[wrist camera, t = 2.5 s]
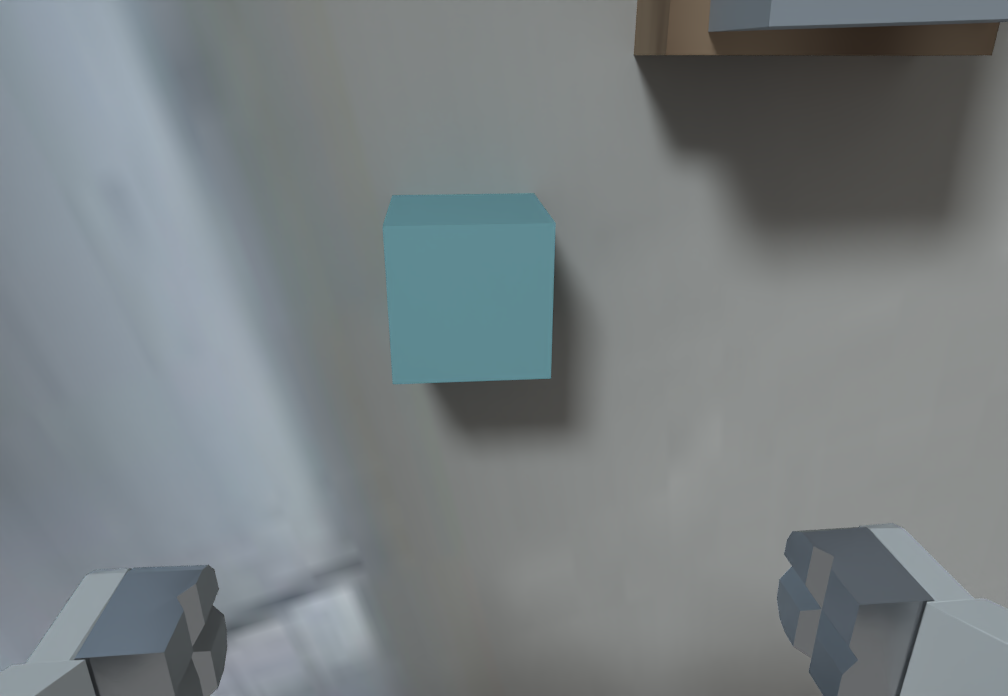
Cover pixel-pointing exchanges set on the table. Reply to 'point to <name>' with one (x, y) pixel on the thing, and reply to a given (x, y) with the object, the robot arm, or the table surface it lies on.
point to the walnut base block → (797, 36)
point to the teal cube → (469, 287)
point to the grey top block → (849, 13)
